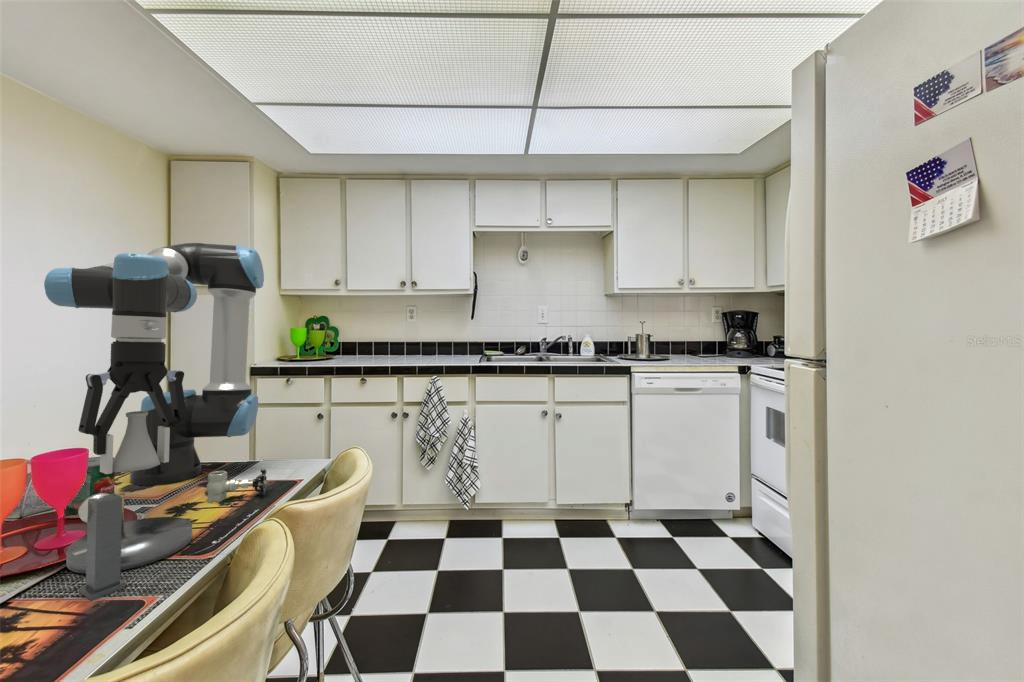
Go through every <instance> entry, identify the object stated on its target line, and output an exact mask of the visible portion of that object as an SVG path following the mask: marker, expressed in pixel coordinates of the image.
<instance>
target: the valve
mask: <svg viewBox="0 0 1024 682" xmlns="http://www.w3.org/2000/svg"><path fill="white" fill-rule="evenodd" d="M260 473H261V474H259V475H258V476H256V477H255V478H253V479H252V480H251V481H249V479H244V480H243V479H242V480H241V481H240V480H237V479H236V478H230V480H227V479H228V472H227V471H226V470H216V471H211V472H209V473H208V474H207V481H208V482H207V484H206V492H207V500H206V501H207V502H208V501H209V502H208V503H209V504H214V503H213V502H216V503H221V502H224V501H225V500H224V499H226V498H227V495H228V493H227V492H228V491H229V492H230V493H233V492H236V490H237V489H240V488H241V489H248V488H249V486H250V487H252V488H254V490H255V491H256V492H257V493H258V495H259V496H260V495H264V496H265V495H266V489H267V485H266V482H267V481H268V480H267V478H268V477H267V469H266V468H261V469H260ZM223 500H224V501H223ZM226 500H227V499H226Z"/></svg>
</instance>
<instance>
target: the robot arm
mask: <svg viewBox="0 0 1024 682" xmlns="http://www.w3.org/2000/svg"><path fill="white" fill-rule="evenodd" d="M264 283H265V273H264V267H263V262H262V260H261V256H260V254H259V252H258V251H257V250H256V249H255V248H252V247H248V246H240V245H231V244H230V245H229V244H216V243H215V244H214V243H212V244H211V243H202V242H187V243H179V244H174V245H167V246H164V247H159V248H158V247H157V248H155V249H152V250H150V251H149V252H148V253H147V254H144V253H134V252H131V253H130V252H121V253H118V254H116V255H115V257H114V260H113V262H111V263H107V264H102V265H97V266H93V267H88V268H87V267H86V268H76V267H72V266H71V267H55V268H53V269H51V270H50V271H49V272H48V273H47V274H46V275H45V279H44V284H43V287H44V291H45V296H46V297H47V299H48V300H49V302H51V303H52V304H53V305H55V306H59V307H67V308H68V307H69V308H75V309H80V308H82V309H83V308H84V309H109V310H110V309H112V310H111V312H112V313H111V327H110V329H111V330H110V331H111V332H110V337H111V338H112V339H115V341H112V343H110V366H109V368H108V369H107V371H106V372H100V373H96V374H94V373H88V374H86V375H85V382H86V387H87V391H86V395H85V398H84V404H83V408H82V412H81V417H80V420H79V424H78V429H77V430H78V431H79V433H82V434H85V435H91V436H92V437H93V442H92V443H93V444H92V446H93V447H92V450H93V452H92V453H94V455H96V456H99V457H100V472H102V473H105V474H111V473H112V467H113V457H114V435H113V434H110V433H109V432H110V429H111V428H112V425H113V424H114V422H115V419H116V418H117V416H118V414H119V413H120V410H121V408H122V407H123V404H124V403H125V401H126V399H128V397H129V396H130V394H133V393H135V394H136V393H139V392H145V393H147V396H145V397H144V398H143V399H142V400H141V405H140V411H148V415H147V416H146V426H147V431H148V434H149V437H150V439H151V442H152V444H153V447H154V449H155V451H156V453H157V456H158V458H159V461H160V465H157V466H155V467H152V468H150V469H144V470H137V471H130V472H129V473H130V474H129V483H131V484H132V485H136V486H159V485H167V484H174V483H177V482H182V481H185V480H186V481H187V480H190V479H193V478H195V477H198V476H199V475H201V474H202V462H201V460H200V458H199V455H198V452H197V450H196V447H195V438H221V437H222V438H223V437H224V438H225V437H227V438H231V437H241V436H245V435H247V434H248V433H250V431H251V430H252V429H253V426H254V424H255V423H256V419H257V416H258V411H259V397H258V395H257V394H254V393H252V389H253V388H252V387H251V385H249V384H248V383H247V381H246V380H247V366H248V365H247V363H248V361H247V360H248V344H249V343H248V342H249V323H250V322H249V321H250V320H249V318H250V302H251V300H252V298H254V297H255V296H256V295H257V290H258V289H261V288H263V286H264ZM194 285H199V286H207V292H208V293H209V294H210V295H211V296H212V297H213V310H212V328H211V329H212V333H211V347H210V348H211V349H210V367H209V368H210V369H209V370H210V371H209V382H208V383H207V384H206V385H205V386H204V387H203V388H202V394H197V392H196V390H195V389H184V387H183V380H184V377H185V371H182V370H169V369H168V368H167V367H166V364H165V362H166V351H167V350H166V347H167V344H166V343H165V342H163V341H162V340H165V339H166V337H167V313H180V312H184V311H185V312H186V311H188V310H189V309H191V308H192V307H193V306H194V305H195V303H196V301H197V299H198V294H197V293H198V291H197V289H196V287H195V286H194ZM165 377H166V380H167V382H168V389H169V391H165V392H164V391H163V388H162V385H161V384H160V383H161V382H162V381H163V380H164V378H165ZM108 380H110V381H111V382H112V383H113V384H114V387H113V390H112V391H111V393H110V398H109V399H108V401H107V403H106V404H105V407H104V408H103V410H102V413H101V414H100V416H99V418H98V415H99V409H100V405H101V401H102V396H103V393H104V391H103V390H104V386H105V385H106V384H107V381H108ZM97 419H98V420H97Z"/></svg>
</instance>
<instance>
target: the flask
mask: <svg viewBox="0 0 1024 682" xmlns="http://www.w3.org/2000/svg"><path fill="white" fill-rule="evenodd" d="M147 415H148V411H141V410H139V411H138V410H137V411H136V410H135V411H130V412H126V413H125V417H127V424H126V429H125V433H124V435H123V438H122V441H121V443H120V444H119V448H118V450H117V452H116V453H115V456H114V460H113V467H112V472H115V473H116V472H117V473H123V472H124V473H126V472H129V473H131V471H137V470H144V469H150V468H152V467H155V466H157V465H160V461H159V458H158V456H157V453H156V451H155V449H154V447H153V444H152V442H151V439H150V437H149V434H148V431H147V426H146V416H147Z"/></svg>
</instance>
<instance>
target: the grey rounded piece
mask: <svg viewBox="0 0 1024 682" xmlns="http://www.w3.org/2000/svg"><path fill="white" fill-rule="evenodd" d="M115 494H116V495H118V496H120V497H122V529H121V566H120V571H125V570H130V569H134V568H138V567H142V566H145V565H147V564H148V565H149V564H151V563H155V562H157V561H160V560H162V559H165V558H167V557H169V556H171V555H174V554H176V553H177V552H179V551H180V550H183V549H184V548H185V547H186V546H187V545H189V544H190V542H191V541H192V539H193V523H192V521H191V520H188V519H187V518H184V517H179V516H156V517H149V518H148V517H147V518H141V519H134V520H130V521H124V520H125V519H124V518H125V493H123V492H118V493H115ZM65 560H66V562H65V563H66V567H67V569H68V570H70V571H72V572H73V573H78V574H86V560H87V534H86V535H84V536H82V537H80V538H78V539H76V540H75V541H73V542H72V543H71V544H70V545H69V546H68V547H67V549H66V559H65Z"/></svg>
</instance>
